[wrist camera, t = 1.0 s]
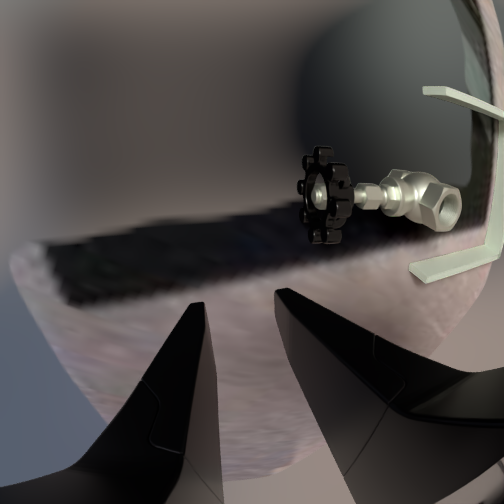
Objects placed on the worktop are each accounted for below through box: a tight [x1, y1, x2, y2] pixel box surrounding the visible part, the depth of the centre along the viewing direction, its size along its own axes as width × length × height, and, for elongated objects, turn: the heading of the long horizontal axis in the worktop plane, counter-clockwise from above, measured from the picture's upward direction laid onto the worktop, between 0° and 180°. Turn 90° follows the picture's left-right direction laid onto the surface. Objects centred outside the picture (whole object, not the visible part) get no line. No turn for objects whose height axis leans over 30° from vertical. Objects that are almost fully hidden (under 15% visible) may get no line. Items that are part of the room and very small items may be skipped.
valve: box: [297, 146, 462, 244], centre depth 19 cm, size 7×7×12 cm
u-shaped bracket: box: [409, 86, 504, 284], centre depth 23 cm, size 19×16×3 cm
